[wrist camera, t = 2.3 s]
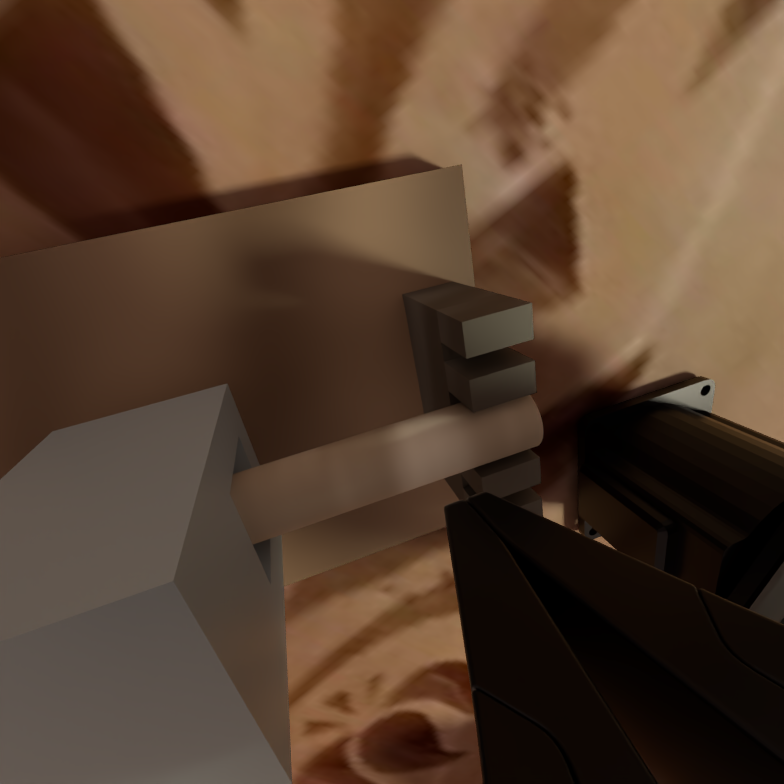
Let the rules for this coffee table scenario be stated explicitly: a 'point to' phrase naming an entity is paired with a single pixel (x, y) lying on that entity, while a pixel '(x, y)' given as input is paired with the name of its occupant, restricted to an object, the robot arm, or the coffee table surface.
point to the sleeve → (140, 606)
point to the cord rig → (294, 357)
